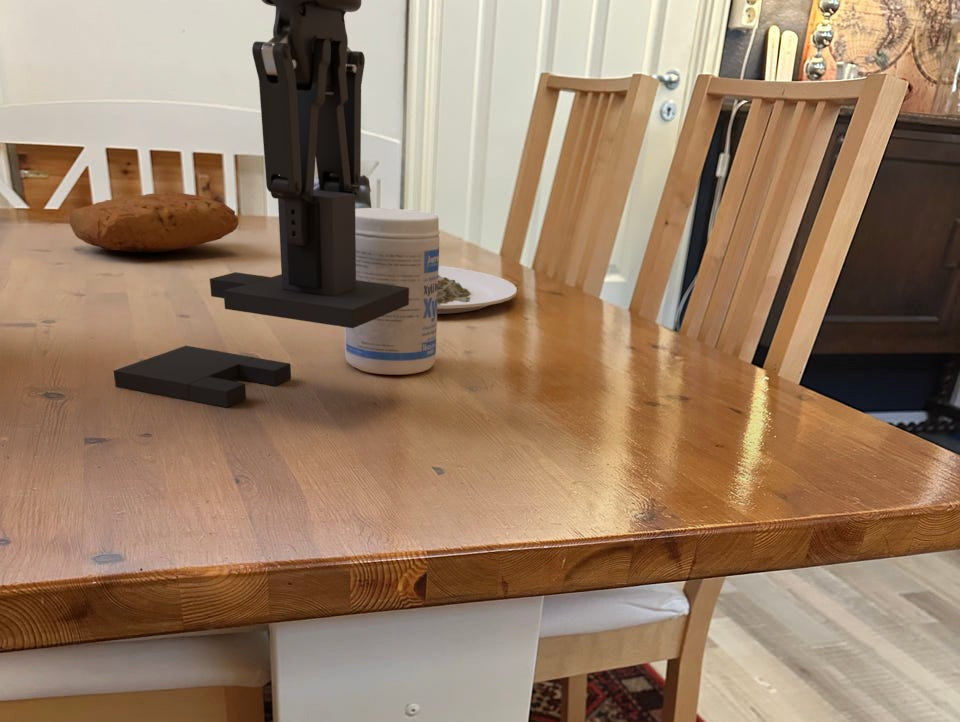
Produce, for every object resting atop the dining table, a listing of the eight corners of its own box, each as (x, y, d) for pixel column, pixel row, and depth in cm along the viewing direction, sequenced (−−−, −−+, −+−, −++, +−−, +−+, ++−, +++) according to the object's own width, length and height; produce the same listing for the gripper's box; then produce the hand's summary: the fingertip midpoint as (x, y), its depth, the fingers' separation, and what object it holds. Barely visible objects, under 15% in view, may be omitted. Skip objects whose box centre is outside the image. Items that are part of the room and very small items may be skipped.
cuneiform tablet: (199, 240, 157) (194, 188, 152) (248, 258, 146) (244, 202, 142) (65, 246, 144) (57, 189, 140) (108, 266, 133) (100, 204, 129)
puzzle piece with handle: (186, 303, 79) (175, 186, 74) (256, 283, 88) (250, 177, 83) (353, 328, 75) (352, 205, 70) (408, 304, 84) (411, 194, 79)
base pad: (115, 386, 85) (113, 370, 85) (187, 360, 94) (185, 345, 94) (228, 408, 82) (226, 391, 81) (291, 378, 91) (290, 363, 90)
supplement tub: (444, 377, 95) (451, 221, 87) (352, 378, 93) (351, 218, 85) (423, 353, 103) (428, 208, 95) (338, 353, 100) (336, 204, 93)
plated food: (552, 317, 123) (555, 291, 121) (330, 323, 112) (330, 294, 110) (467, 274, 146) (468, 251, 144) (277, 275, 135) (276, 251, 133)
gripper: (295, -75, 60) (308, 304, 72) (404, -40, 73) (400, 272, 86) (195, -77, 62) (224, 292, 74) (320, -43, 75) (327, 263, 88)
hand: (319, 281), depth 80 cm, fingers closed on puzzle piece with handle, 4 cm apart
